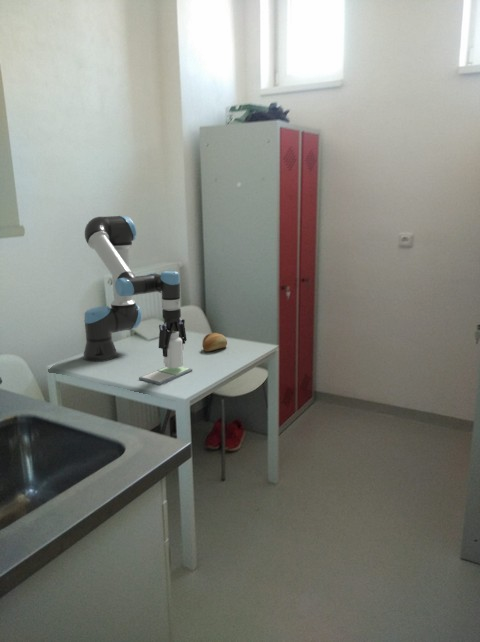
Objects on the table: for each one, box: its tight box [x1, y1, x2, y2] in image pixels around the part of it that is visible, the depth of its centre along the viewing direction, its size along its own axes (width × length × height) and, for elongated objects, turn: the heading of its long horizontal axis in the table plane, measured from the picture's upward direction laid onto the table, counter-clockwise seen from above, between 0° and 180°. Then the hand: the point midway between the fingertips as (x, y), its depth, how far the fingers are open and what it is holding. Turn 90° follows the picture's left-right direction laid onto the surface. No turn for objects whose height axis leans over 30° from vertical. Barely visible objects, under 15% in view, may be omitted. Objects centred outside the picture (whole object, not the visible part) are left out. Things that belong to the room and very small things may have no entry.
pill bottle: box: [164, 331, 184, 368], centre depth 215 cm, size 8×8×15 cm
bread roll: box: [201, 332, 228, 352], centre depth 249 cm, size 10×15×8 cm, turn 142°
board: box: [138, 366, 193, 386], centre depth 213 cm, size 12×20×1 cm, turn 146°
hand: (173, 360), depth 216 cm, fingers closed on pill bottle, 8 cm apart
